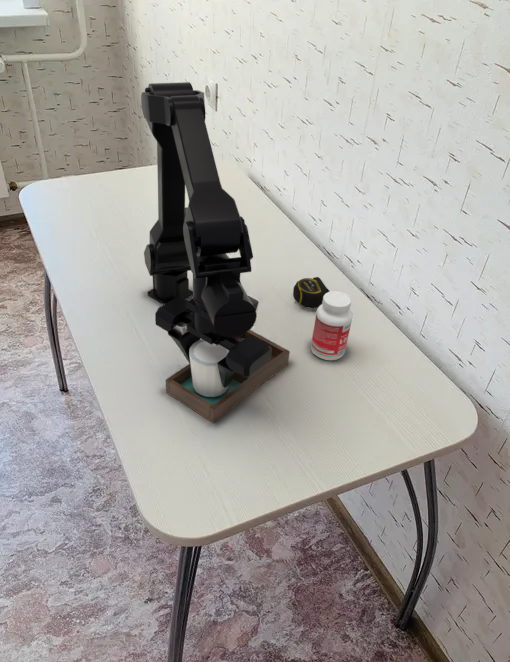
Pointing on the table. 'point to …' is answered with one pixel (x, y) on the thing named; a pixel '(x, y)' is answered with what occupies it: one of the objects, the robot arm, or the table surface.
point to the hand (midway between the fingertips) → (210, 376)
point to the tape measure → (310, 292)
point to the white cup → (206, 368)
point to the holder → (237, 389)
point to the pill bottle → (332, 326)
